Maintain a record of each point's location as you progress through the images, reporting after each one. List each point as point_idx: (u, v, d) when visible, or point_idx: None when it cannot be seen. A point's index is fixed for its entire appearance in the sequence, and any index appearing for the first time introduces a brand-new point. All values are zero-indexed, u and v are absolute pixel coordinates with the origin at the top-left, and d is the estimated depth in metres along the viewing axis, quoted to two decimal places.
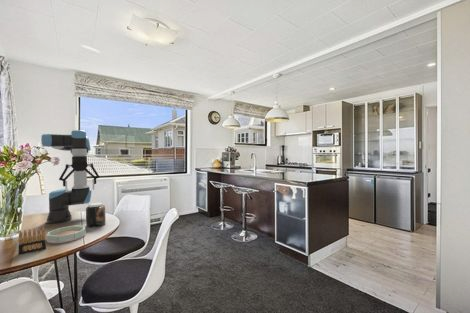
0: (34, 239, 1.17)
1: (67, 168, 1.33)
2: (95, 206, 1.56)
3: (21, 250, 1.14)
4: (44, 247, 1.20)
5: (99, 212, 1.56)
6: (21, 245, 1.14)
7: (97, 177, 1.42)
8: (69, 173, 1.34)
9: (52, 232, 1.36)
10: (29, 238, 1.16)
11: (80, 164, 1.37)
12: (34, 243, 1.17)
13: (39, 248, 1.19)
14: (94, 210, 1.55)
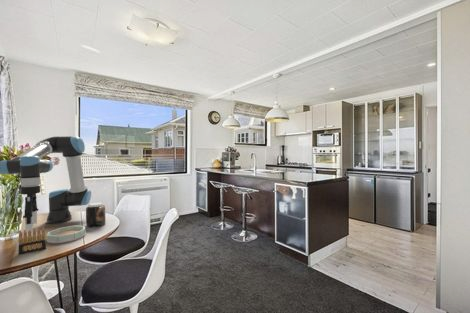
0: (34, 239, 1.17)
1: None
2: (95, 206, 1.56)
3: (21, 250, 1.14)
4: (44, 247, 1.20)
5: (99, 212, 1.56)
6: (21, 245, 1.14)
7: None
8: None
9: (52, 232, 1.36)
10: (29, 238, 1.16)
11: None
12: (34, 243, 1.17)
13: (39, 248, 1.19)
14: (94, 210, 1.55)
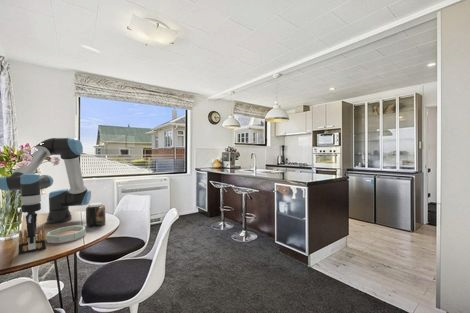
0: None
1: None
2: (95, 206, 1.56)
3: (21, 249, 1.14)
4: (44, 247, 1.20)
5: (99, 212, 1.56)
6: (21, 245, 1.14)
7: None
8: None
9: (52, 232, 1.36)
10: None
11: None
12: None
13: (39, 248, 1.19)
14: (94, 210, 1.55)
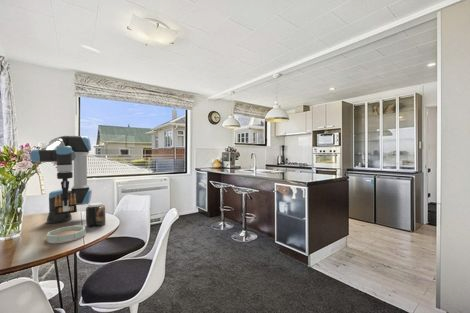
0: None
1: None
2: (95, 206, 1.56)
3: (57, 211, 1.33)
4: (75, 210, 1.39)
5: (99, 212, 1.56)
6: (57, 207, 1.33)
7: (63, 199, 1.33)
8: None
9: (52, 232, 1.36)
10: None
11: None
12: None
13: (71, 211, 1.38)
14: (94, 210, 1.55)
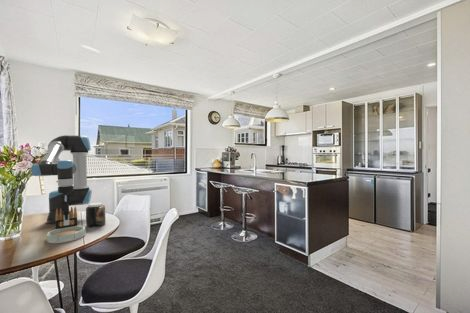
0: None
1: None
2: (95, 206, 1.56)
3: (57, 225, 1.34)
4: (76, 224, 1.39)
5: (99, 212, 1.56)
6: (58, 221, 1.34)
7: (64, 213, 1.33)
8: None
9: (52, 232, 1.36)
10: None
11: None
12: None
13: (72, 225, 1.38)
14: (94, 210, 1.55)
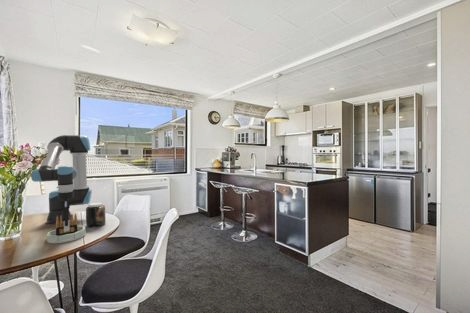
0: None
1: None
2: (95, 206, 1.56)
3: (58, 232, 1.34)
4: (76, 231, 1.39)
5: (99, 212, 1.56)
6: (58, 228, 1.34)
7: (64, 219, 1.32)
8: None
9: (52, 232, 1.36)
10: None
11: (63, 200, 1.36)
12: None
13: (72, 232, 1.38)
14: (94, 210, 1.55)
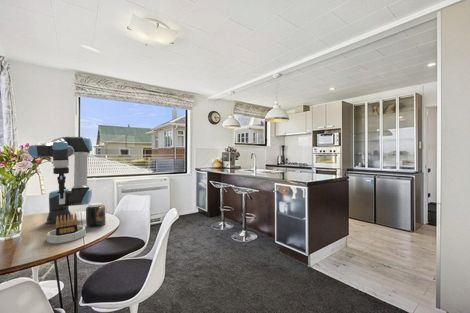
0: (68, 223, 1.37)
1: None
2: (95, 206, 1.56)
3: (58, 232, 1.34)
4: (76, 231, 1.39)
5: (99, 212, 1.56)
6: (58, 228, 1.34)
7: None
8: None
9: (52, 232, 1.36)
10: (64, 222, 1.36)
11: None
12: (68, 227, 1.37)
13: (72, 232, 1.38)
14: (94, 210, 1.55)
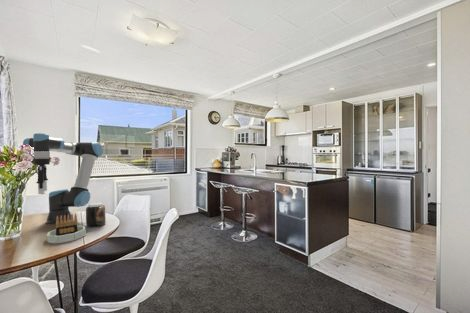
0: (68, 223, 1.37)
1: None
2: (95, 206, 1.56)
3: (58, 232, 1.34)
4: (76, 231, 1.39)
5: (99, 212, 1.56)
6: (58, 228, 1.34)
7: (39, 182, 1.33)
8: None
9: (52, 232, 1.36)
10: (64, 222, 1.36)
11: None
12: (68, 227, 1.37)
13: (72, 232, 1.38)
14: (94, 210, 1.55)
